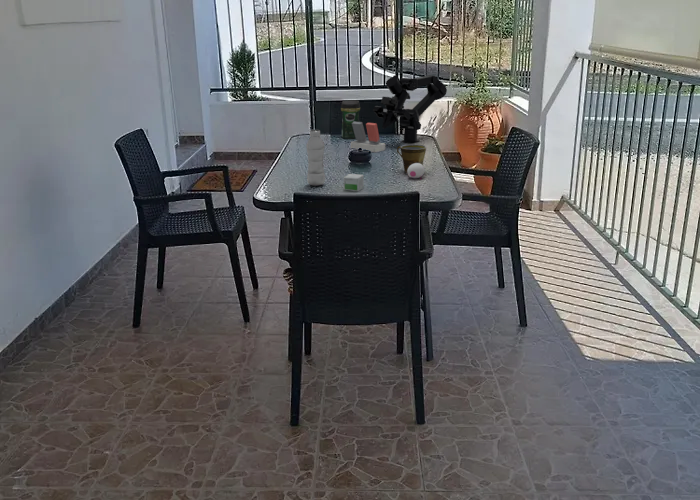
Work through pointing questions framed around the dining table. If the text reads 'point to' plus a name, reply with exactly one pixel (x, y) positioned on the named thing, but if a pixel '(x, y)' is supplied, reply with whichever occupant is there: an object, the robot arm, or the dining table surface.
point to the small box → (353, 182)
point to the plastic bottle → (315, 159)
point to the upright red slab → (373, 133)
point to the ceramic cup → (412, 154)
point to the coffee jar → (349, 117)
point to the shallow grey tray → (368, 146)
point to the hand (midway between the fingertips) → (383, 128)
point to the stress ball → (416, 170)
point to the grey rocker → (359, 131)
